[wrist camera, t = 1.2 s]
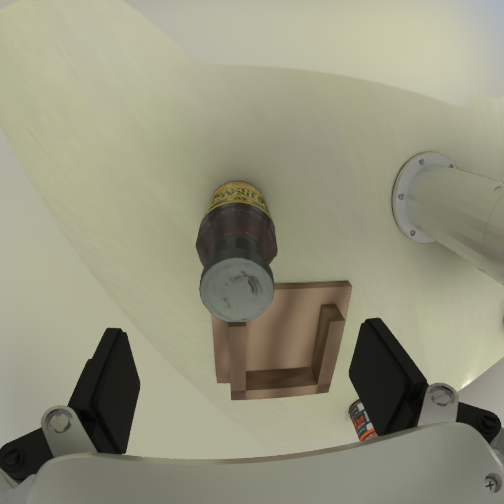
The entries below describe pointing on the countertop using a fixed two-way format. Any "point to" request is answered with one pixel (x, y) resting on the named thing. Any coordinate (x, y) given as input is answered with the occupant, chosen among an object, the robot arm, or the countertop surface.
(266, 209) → the sauce bottle
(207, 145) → the countertop surface
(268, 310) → the bottle stand
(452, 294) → the countertop surface
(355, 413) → the supplement bottle
